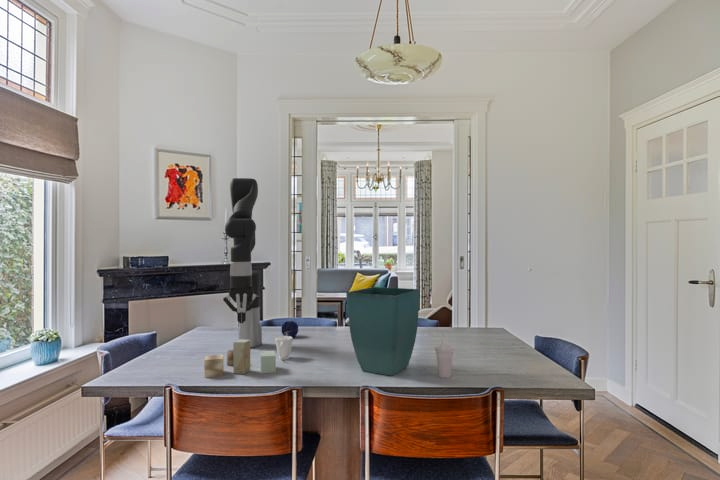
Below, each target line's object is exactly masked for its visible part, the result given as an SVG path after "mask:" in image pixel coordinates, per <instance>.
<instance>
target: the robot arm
mask: <svg viewBox="0 0 720 480" xmlns="http://www.w3.org/2000/svg"><path fill="white" fill-rule="evenodd" d="M258 186H259V185H258V182H257V180H256V179H255V178H251V177H250V178H247V177H246V178H245V177H236V178H235V177H234V178H232V179H231V180H230V183H229V191H230V200H231V211H232V214H231V215H230V216H229V217H228V219H227V220H226V222H225V226H224V231H225V234H226V236H227V237H228V238H231V239H233V245H232V246H231V247H230V267H229V277H230V279H229V284H230V289H229V291H228V294H227V295H226V296H225V297H223V299H222V300H223V302H224V303H225V304H226V305H227V306H228V308H229V309H230V310H231V311H232V312H234V313H236V315H237V316H236V317H237V318H236V321H237V323H238V340H240V339H244V340H250V349H251V348H257V347H259V346H261V345H263V332H262V331H263V330H262V329H263V327H262V326H263V325H262V323H261V319H260V318H261V317H260V316H261V314H260V311H261V309H260V308H261V307H260V289H261V275H260V272H258V271H256V270H255V271H253V269H252V268H253V267H252V252H253V250H254V249H255V246H256V231H257V226H256V225H257V224H256V222H255V220H253V219H252V218H253V209H254V206H255V204H256V201H257V199H258V195H259V187H258ZM231 299H232V300H231ZM231 301H233V302H234V303H236V307H235V306H234V304H233V303H232V302H231Z"/></svg>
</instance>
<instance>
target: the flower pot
mask: <svg viewBox="0 0 720 480" xmlns="http://www.w3.org/2000/svg"><path fill="white" fill-rule="evenodd" d="M420 292H421V290H420V289H417V288H405V287H404V288H401V287H385V286H384V287H383V286H373V287H372V286H371V287H367V288H362V289H357V290H352V291H347V292H345V294H346V304H347V313H348V314H347V315H348V325H349V333H350V339H351V342H352V343H351V344H352V346H353V350H354V353H355V356H356V359H357V362H358V364H359V367H360V369H361V371H362V372H368V373H374V374H378V375H386V376H394V375H395V374H398V373H400V372H401V371H402V370H404V369H406V368H407V367H408V366H409V363H410V360H411V357H412V354H413V350H414V346H415V343H416V339H417V333H418V332H417V331H418V327H419V325H418V324H419V312H420V311H419V308H420V294H421V293H420Z"/></svg>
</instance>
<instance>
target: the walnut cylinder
mask: <svg viewBox="0 0 720 480" xmlns="http://www.w3.org/2000/svg"><path fill="white" fill-rule="evenodd" d="M226 365H227V367H233V349H229V350H227V352H226Z"/></svg>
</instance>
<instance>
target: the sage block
mask: <svg viewBox="0 0 720 480" xmlns="http://www.w3.org/2000/svg"><path fill="white" fill-rule="evenodd" d="M259 354H260V355H259V359H260V360H259V363H260V374H267V373H269V374H270V373H271V374H272V373H277V372H276V371H277V370H276V369H277V367H276V365H277V364H276V363H277V361H276V359H277V357H276V353H275V350H267V351H265V350H264V351H260V352H259Z"/></svg>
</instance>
